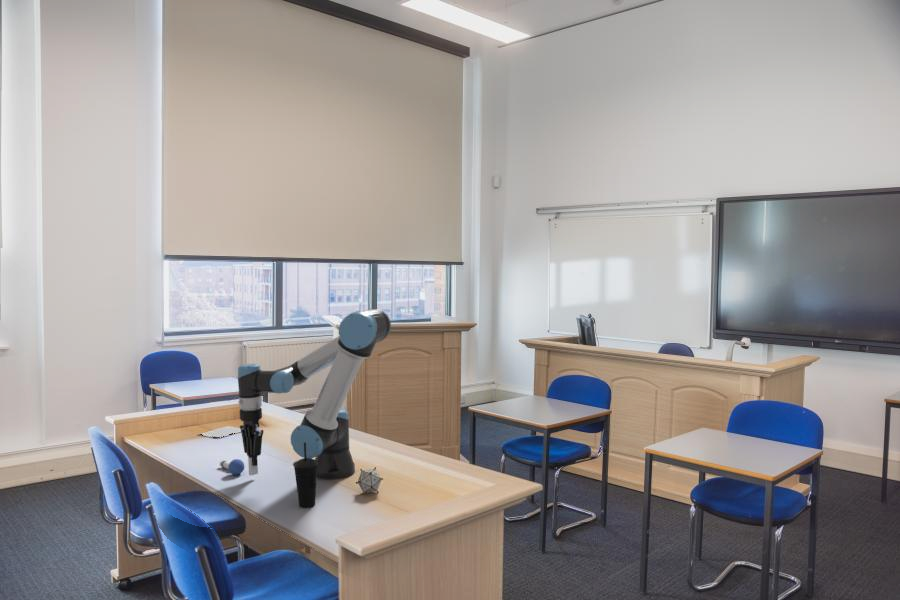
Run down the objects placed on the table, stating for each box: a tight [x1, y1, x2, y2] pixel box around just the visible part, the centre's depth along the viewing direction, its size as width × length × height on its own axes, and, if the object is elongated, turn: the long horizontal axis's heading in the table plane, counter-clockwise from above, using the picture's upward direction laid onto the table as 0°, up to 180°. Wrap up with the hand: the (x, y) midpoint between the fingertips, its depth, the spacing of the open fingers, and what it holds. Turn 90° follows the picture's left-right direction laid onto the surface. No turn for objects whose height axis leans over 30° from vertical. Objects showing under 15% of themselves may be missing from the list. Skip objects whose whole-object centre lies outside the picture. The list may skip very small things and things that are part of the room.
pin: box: [219, 459, 231, 470], centre depth 248 cm, size 2×2×8 cm
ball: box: [228, 458, 245, 476], centre depth 241 cm, size 6×6×6 cm
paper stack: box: [200, 425, 241, 439], centre depth 295 cm, size 23×25×1 cm
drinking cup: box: [292, 442, 318, 509], centre depth 209 cm, size 8×8×20 cm
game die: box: [355, 466, 384, 496], centre depth 220 cm, size 9×8×10 cm
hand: (253, 474), depth 236 cm, fingers closed
